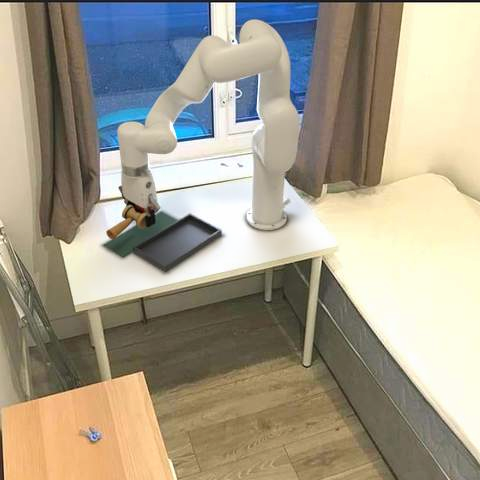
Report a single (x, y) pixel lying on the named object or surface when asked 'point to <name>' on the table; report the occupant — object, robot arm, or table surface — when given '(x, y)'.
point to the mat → (138, 235)
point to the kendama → (129, 220)
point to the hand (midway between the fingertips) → (141, 219)
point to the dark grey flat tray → (177, 242)
